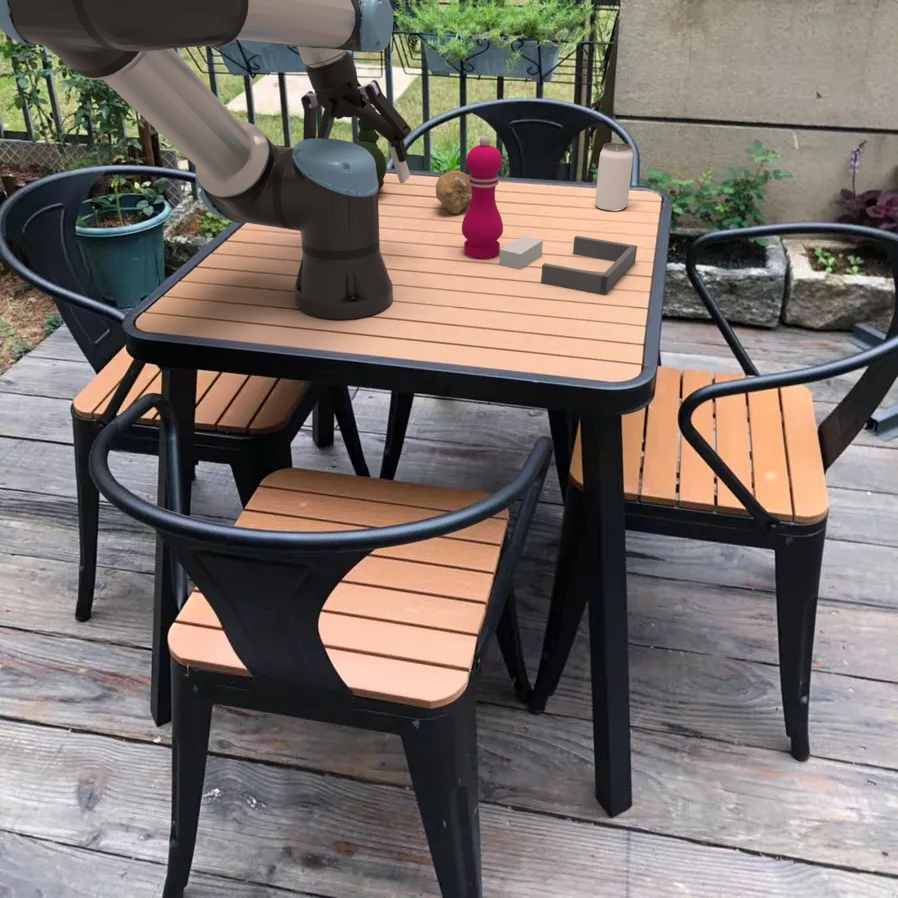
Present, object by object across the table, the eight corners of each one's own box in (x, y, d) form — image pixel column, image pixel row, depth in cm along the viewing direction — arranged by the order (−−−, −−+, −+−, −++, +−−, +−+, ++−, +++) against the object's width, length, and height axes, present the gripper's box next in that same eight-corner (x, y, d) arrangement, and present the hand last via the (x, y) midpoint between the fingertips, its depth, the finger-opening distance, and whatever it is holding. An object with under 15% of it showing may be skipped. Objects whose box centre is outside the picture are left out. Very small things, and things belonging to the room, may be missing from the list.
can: (592, 210, 174) (598, 148, 167) (597, 200, 179) (603, 141, 172) (624, 213, 172) (632, 151, 165) (628, 203, 177) (636, 143, 171)
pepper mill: (498, 261, 149) (503, 142, 139) (457, 258, 151) (459, 139, 140) (504, 247, 155) (509, 131, 144) (465, 244, 157) (467, 129, 146)
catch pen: (605, 294, 137) (607, 277, 136) (541, 282, 141) (542, 265, 140) (635, 262, 149) (637, 245, 148) (574, 252, 153) (576, 235, 152)
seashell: (432, 197, 180) (431, 158, 176) (470, 196, 181) (471, 157, 176) (436, 218, 169) (436, 177, 164) (478, 217, 169) (479, 176, 165)
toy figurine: (349, 182, 195) (338, 206, 173) (344, 92, 186) (332, 105, 164) (391, 182, 195) (385, 206, 173) (388, 92, 186) (382, 105, 164)
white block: (519, 271, 147) (520, 254, 145) (499, 266, 148) (499, 249, 147) (541, 257, 152) (542, 240, 151) (521, 252, 154) (522, 236, 152)
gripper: (404, 36, 133) (443, 165, 146) (275, 61, 145) (322, 179, 158) (384, 54, 128) (426, 187, 141) (252, 79, 140) (302, 199, 153)
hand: (371, 183), depth 150 cm, fingers open, 13 cm apart
